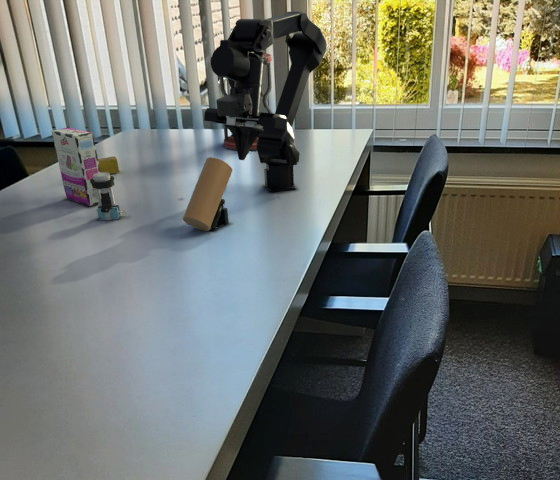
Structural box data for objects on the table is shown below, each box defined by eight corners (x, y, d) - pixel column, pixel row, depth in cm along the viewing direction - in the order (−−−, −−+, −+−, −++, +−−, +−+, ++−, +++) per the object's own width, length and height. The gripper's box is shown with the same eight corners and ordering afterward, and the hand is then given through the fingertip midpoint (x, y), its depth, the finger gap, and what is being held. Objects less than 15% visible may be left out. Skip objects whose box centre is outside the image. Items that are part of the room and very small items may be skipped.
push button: (129, 213, 145) (121, 170, 139) (124, 221, 140) (116, 177, 135) (100, 214, 145) (92, 171, 139) (95, 222, 140) (86, 178, 135)
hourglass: (274, 149, 188) (270, 58, 174) (221, 151, 189) (213, 60, 175) (275, 137, 202) (272, 51, 188) (226, 139, 202) (219, 53, 188)
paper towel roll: (218, 214, 142) (212, 151, 134) (239, 218, 139) (235, 154, 132) (179, 234, 132) (171, 167, 124) (202, 239, 129) (195, 170, 122)
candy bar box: (107, 201, 153) (94, 132, 143) (90, 207, 150) (75, 136, 140) (82, 193, 159) (68, 126, 150) (65, 198, 156) (49, 130, 147)
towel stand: (208, 220, 139) (205, 195, 136) (228, 223, 136) (226, 198, 133) (194, 227, 135) (191, 202, 132) (215, 231, 133) (212, 206, 130)
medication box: (76, 180, 169) (73, 166, 167) (74, 177, 171) (71, 162, 168) (119, 172, 173) (117, 158, 171) (117, 169, 175) (114, 155, 172)
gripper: (190, 76, 131) (186, 153, 137) (265, 80, 123) (257, 162, 128) (220, 84, 141) (215, 156, 146) (292, 88, 132) (284, 165, 138)
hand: (241, 160), depth 139 cm, fingers closed
